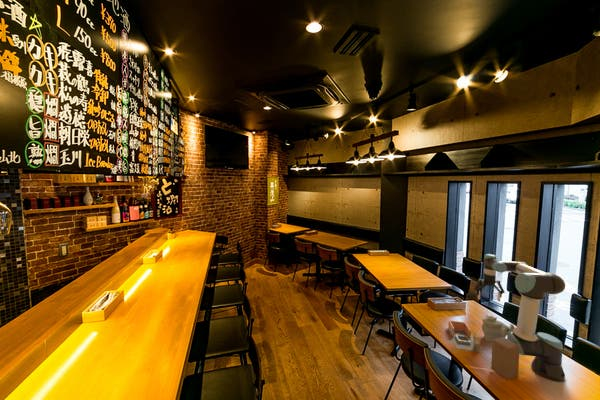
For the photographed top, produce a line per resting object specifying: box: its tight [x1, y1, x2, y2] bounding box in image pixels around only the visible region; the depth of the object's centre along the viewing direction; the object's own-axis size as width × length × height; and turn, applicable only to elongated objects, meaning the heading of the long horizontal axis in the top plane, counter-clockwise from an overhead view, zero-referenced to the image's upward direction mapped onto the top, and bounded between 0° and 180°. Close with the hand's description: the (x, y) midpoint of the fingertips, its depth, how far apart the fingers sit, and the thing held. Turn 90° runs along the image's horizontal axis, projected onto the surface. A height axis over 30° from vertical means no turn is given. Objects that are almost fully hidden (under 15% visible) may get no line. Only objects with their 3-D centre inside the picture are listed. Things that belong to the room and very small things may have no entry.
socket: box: [455, 334, 471, 345], centre depth 190 cm, size 8×8×2 cm
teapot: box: [481, 315, 515, 343], centre depth 190 cm, size 16×15×19 cm
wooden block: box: [490, 337, 520, 380], centre depth 158 cm, size 10×10×20 cm
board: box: [446, 327, 483, 353], centre depth 192 cm, size 27×16×1 cm, turn 163°
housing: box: [447, 320, 472, 340], centre depth 198 cm, size 12×12×7 cm
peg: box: [473, 333, 482, 352], centre depth 180 cm, size 4×4×10 cm
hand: (488, 300), depth 203 cm, fingers open, 13 cm apart
